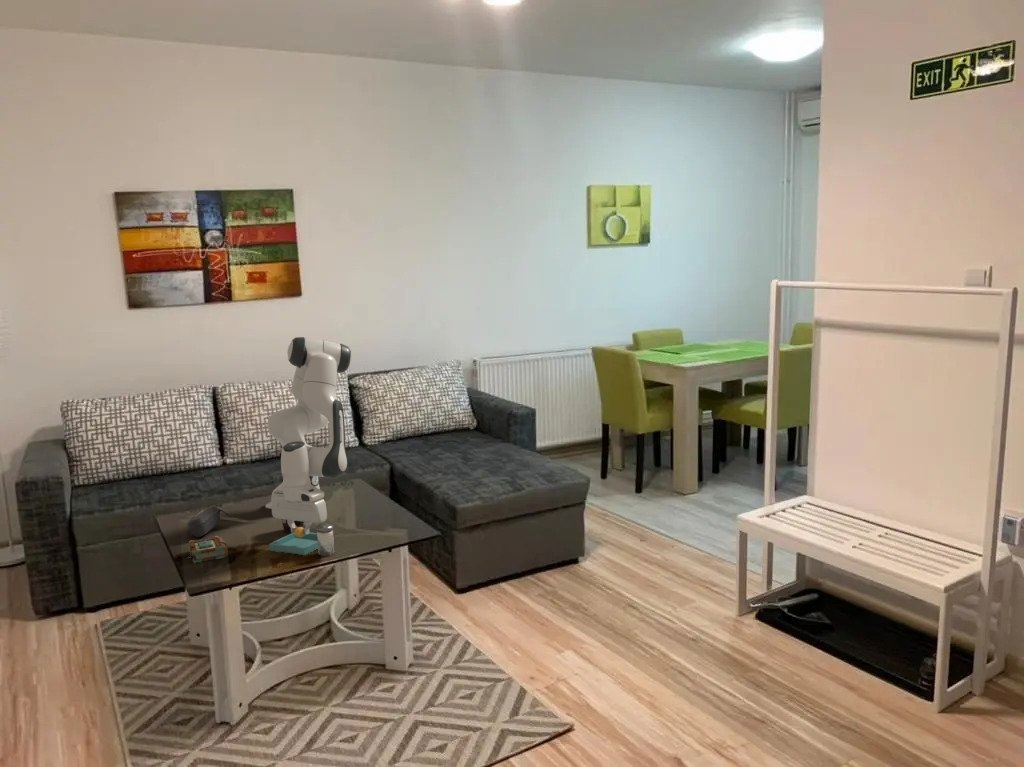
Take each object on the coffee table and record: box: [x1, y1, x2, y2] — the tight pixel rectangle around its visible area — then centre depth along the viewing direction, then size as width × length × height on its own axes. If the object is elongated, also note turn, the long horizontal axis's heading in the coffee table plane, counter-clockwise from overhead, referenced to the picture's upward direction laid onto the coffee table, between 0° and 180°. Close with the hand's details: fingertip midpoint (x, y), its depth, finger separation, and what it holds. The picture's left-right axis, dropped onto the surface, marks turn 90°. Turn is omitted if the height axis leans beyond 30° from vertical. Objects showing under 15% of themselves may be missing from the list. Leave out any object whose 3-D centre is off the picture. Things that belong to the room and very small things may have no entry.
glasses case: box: [186, 505, 229, 538], centre depth 286 cm, size 18×10×8 cm, turn 179°
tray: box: [268, 531, 318, 557], centre depth 268 cm, size 14×14×2 cm
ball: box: [295, 526, 305, 538], centre depth 268 cm, size 4×4×4 cm
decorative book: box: [188, 535, 229, 563], centre depth 266 cm, size 13×18×5 cm
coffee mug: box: [281, 519, 304, 534], centre depth 283 cm, size 12×9×10 cm
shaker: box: [315, 523, 335, 557], centre depth 261 cm, size 5×5×9 cm
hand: (300, 533), depth 268 cm, fingers closed on ball, 3 cm apart
